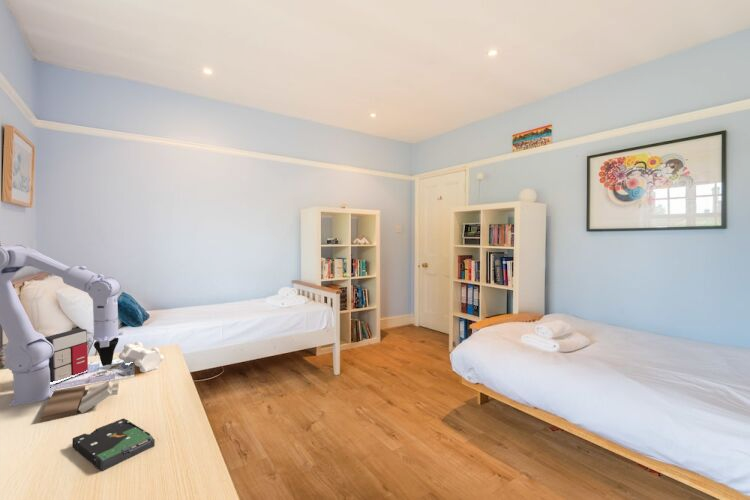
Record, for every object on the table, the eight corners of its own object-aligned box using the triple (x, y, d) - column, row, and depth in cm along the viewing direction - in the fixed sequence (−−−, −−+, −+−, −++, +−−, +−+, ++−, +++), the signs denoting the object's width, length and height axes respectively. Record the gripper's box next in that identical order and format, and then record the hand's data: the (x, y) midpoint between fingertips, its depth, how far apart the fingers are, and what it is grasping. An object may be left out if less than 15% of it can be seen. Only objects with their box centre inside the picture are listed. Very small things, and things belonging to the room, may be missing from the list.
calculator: (54, 387, 107) (52, 338, 106) (43, 385, 107) (41, 337, 107) (90, 373, 117) (88, 329, 117) (79, 371, 118) (78, 328, 117)
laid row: (54, 397, 100) (54, 391, 100) (85, 391, 104) (85, 385, 104) (40, 424, 86) (40, 416, 86) (76, 416, 90) (76, 409, 90)
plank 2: (86, 401, 97) (82, 397, 97) (113, 383, 100) (109, 380, 100) (82, 413, 90) (78, 409, 90) (111, 394, 94) (107, 390, 93)
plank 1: (90, 389, 104) (89, 384, 104) (118, 384, 108) (118, 379, 108) (86, 400, 98) (86, 395, 98) (117, 394, 101) (117, 389, 101)
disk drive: (71, 450, 77) (101, 474, 69) (70, 438, 77) (101, 460, 69) (124, 428, 86) (156, 447, 78) (123, 417, 86) (156, 435, 78)
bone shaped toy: (164, 370, 122) (166, 346, 122) (137, 376, 115) (139, 351, 115) (142, 361, 130) (144, 339, 130) (116, 366, 123) (118, 343, 123)
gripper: (121, 322, 99) (122, 369, 99) (123, 312, 111) (124, 354, 111) (89, 326, 95) (91, 375, 95) (95, 315, 107) (96, 359, 107)
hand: (107, 364), depth 103 cm, fingers closed
